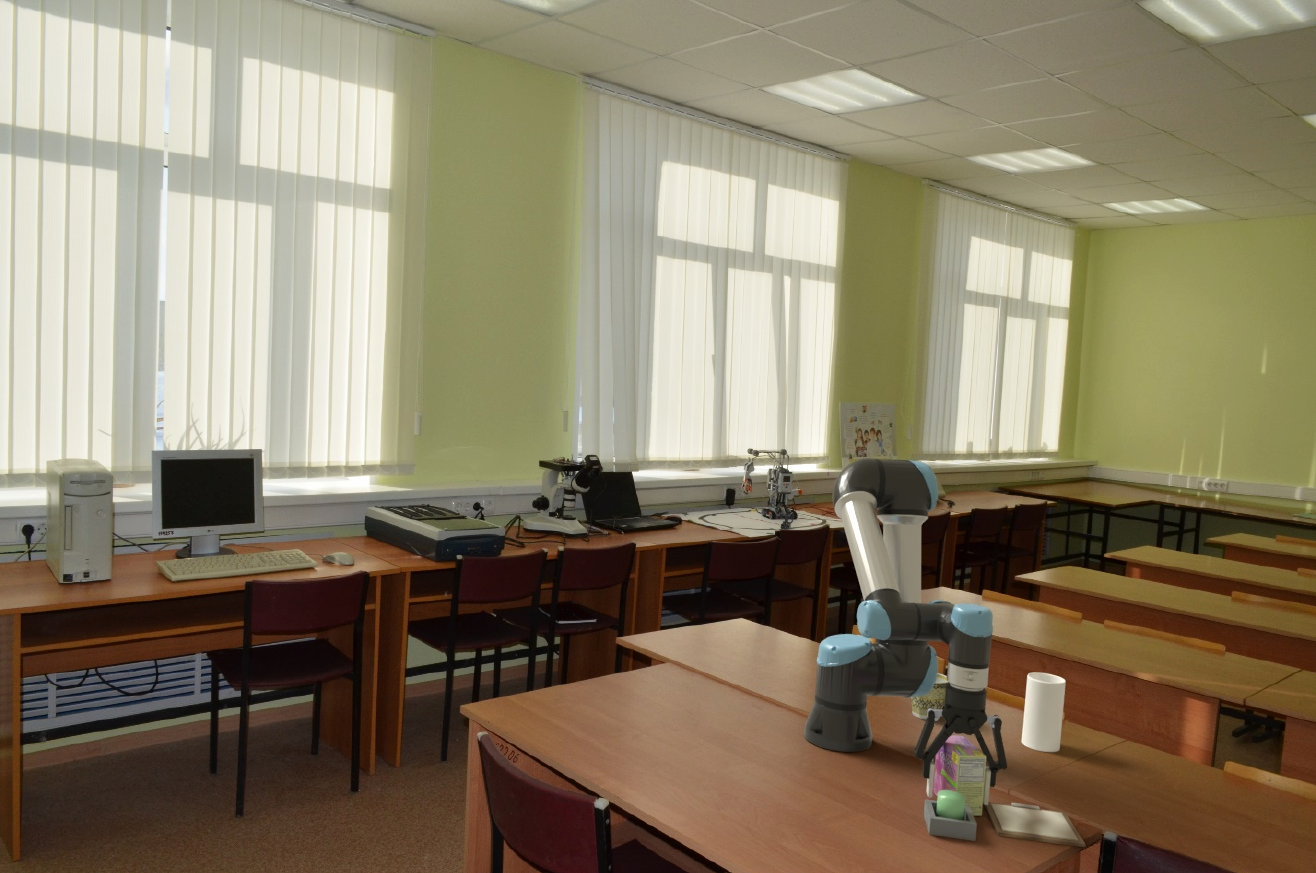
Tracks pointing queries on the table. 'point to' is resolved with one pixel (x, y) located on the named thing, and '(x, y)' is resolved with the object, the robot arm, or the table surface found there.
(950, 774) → the box
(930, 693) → the ceramic cup
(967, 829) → the button housing
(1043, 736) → the cup
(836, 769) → the table surface
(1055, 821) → the clipboard
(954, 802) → the button
